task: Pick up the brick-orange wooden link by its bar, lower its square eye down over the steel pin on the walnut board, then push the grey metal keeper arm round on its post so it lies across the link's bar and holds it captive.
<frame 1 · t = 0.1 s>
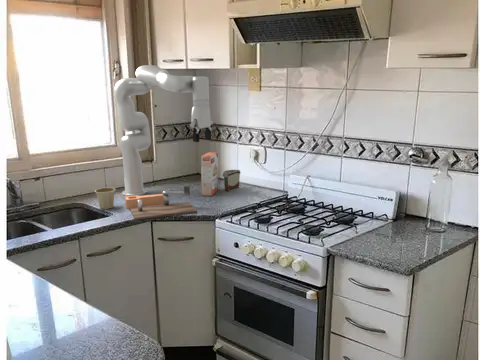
hand: (202, 140, 221), 31 cm above the countertop, tool pointing down, fingers open, 9 cm apart
flower pot: (106, 207, 225), on the countertop
cracker box: (210, 193, 250), on the countertop
board: (163, 211, 217), on the countertop
hardware: (140, 212, 216), resting on board
link: (132, 206, 226), on the countertop
keeper: (175, 190, 222), point 8 cm above the countertop, hinge at 0.0°
food container: (229, 189, 258), on the countertop
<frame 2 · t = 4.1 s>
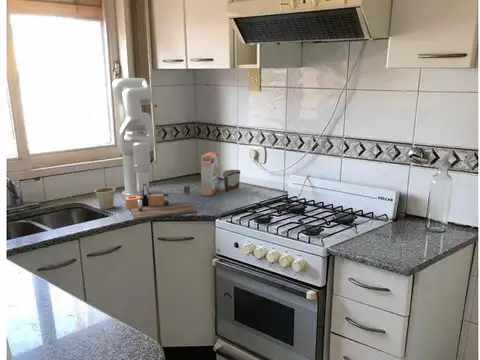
hand: (144, 204, 227), 0 cm above the countertop, tool pointing down, fingers closed on link, 3 cm apart
link: (132, 206, 226), on the countertop, touching gripper
everything else where it was.
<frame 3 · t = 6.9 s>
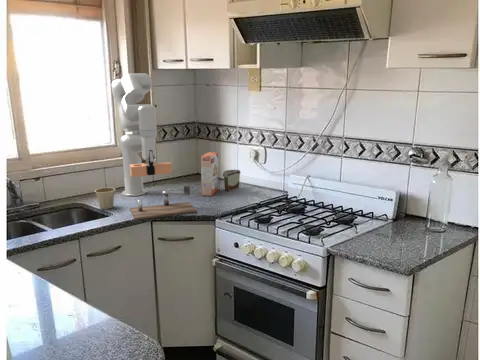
hand: (150, 173, 214), 18 cm above the countertop, tool pointing down, fingers closed on link, 3 cm apart
link: (138, 175, 212), point 18 cm above the countertop, touching gripper
everything else where it was.
when the fingers open (2 cm above the countertop, at t = 9.9 s): link drops 1 cm, resting on board.
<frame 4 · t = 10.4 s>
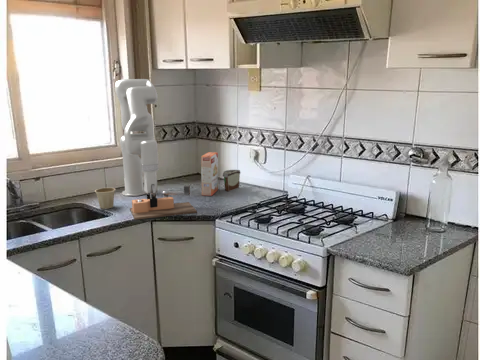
hand: (152, 204, 217), 3 cm above the countertop, tool pointing down, fingers open, 8 cm apart
link: (140, 210, 216), point 1 cm above the countertop, touching board
everything else where it was.
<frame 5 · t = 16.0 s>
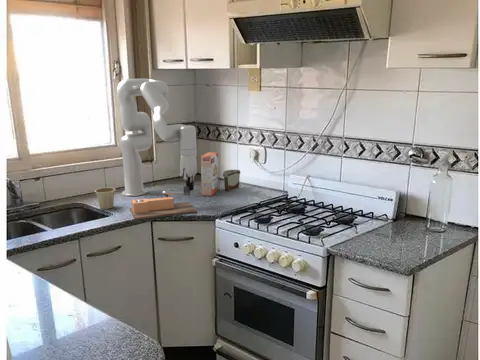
hand: (190, 190, 224), 8 cm above the countertop, tool pointing down, fingers closed
keeper: (175, 190, 222), point 8 cm above the countertop, hinge at -3.3°, touching gripper
everything else where it was.
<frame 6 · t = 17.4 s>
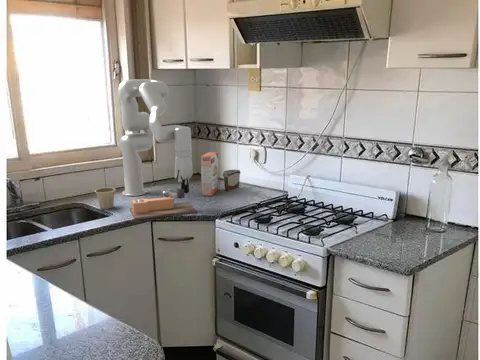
hand: (185, 192, 219), 8 cm above the countertop, tool pointing down, fingers closed
keeper: (172, 191, 220), point 8 cm above the countertop, hinge at -34.0°, touching gripper
everything else where it was.
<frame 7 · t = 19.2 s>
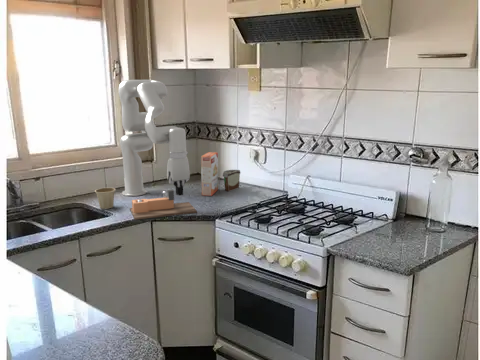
hand: (179, 194, 216), 8 cm above the countertop, tool pointing down, fingers closed
keeper: (168, 192, 218), point 8 cm above the countertop, hinge at -63.2°
everything else where it was.
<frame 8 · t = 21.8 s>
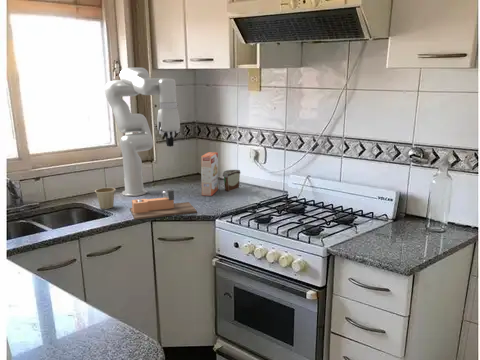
hand: (170, 146, 219), 29 cm above the countertop, tool pointing down, fingers closed
nothing on the countertop moved.
at the end: link 0.1 cm from the target spot, point 1.0 cm above the countertop; keeper at -63° (first picture: +0°); link tilted 0° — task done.
